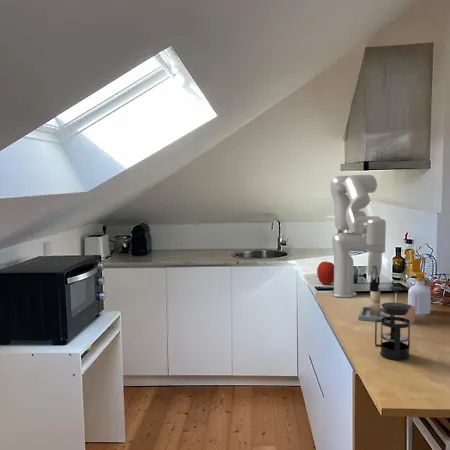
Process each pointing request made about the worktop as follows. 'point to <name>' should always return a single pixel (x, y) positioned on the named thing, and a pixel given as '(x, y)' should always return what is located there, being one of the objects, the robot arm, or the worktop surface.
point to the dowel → (375, 303)
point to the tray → (365, 316)
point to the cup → (408, 315)
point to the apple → (326, 272)
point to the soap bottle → (419, 291)
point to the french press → (394, 331)
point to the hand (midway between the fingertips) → (374, 288)
